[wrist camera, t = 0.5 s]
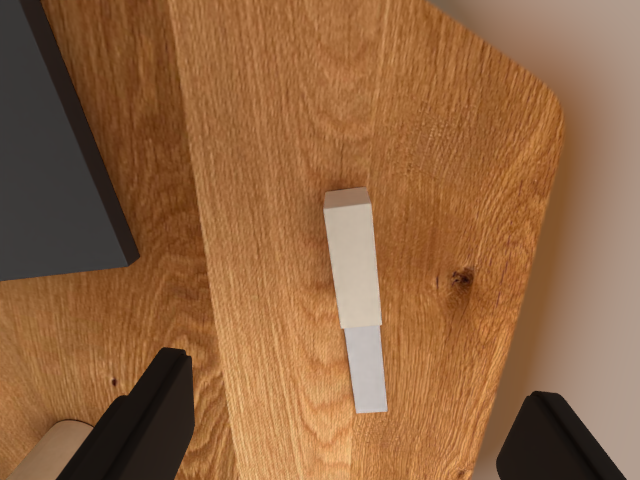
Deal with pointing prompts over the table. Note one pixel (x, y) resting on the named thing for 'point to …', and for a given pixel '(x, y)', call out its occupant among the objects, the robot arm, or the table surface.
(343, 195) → the white stepped bar
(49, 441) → the candle
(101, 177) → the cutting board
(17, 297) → the table surface
